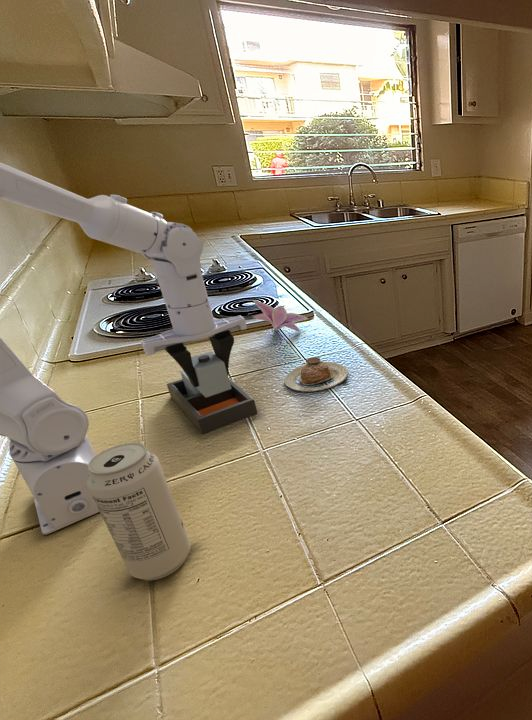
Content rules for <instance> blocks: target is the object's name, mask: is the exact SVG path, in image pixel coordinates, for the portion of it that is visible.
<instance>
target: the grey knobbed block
mask: <svg viewBox="0 0 532 720" xmlns="http://www.w3.org/2000/svg"><path fill="white" fill-rule="evenodd" d="M191 359H192V364H193V368H194V371H195V373H196V376H197V379H198V383H199V386H198V387H196V388H197V389H198V390H199V391H200V392H201V393H202V394H203V395H204V396H205V397H209V396H212V395H215V394H218V393H221V392H224V391H227V390H229V389H231V385H230V382H229V378H230V377H229V376H228V375H227V371H226V367H225V364H224V362H223V361H222V360H221V359H220V358H218V357H217V356H216V355H215V353H214V352H213V351H212V350H211V351H210V350H209V351H207V352H204V353H200V354H197V355H194V356H191ZM228 377H229V378H228Z"/></svg>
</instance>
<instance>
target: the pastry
mask: <svg viewBox="0 0 532 720" xmlns="http://www.w3.org/2000/svg"><path fill="white" fill-rule="evenodd" d="M348 375H349V370H348V368H347V367H346V366H344V365H343V364H341V363H338V362H334V361H323V360H321V358H320V357H317V356H316V357H315V356H314V357H309V358H307V359H306V360H305V364H302V365H299V366H297V367H295V368H294V369H292V370H291V371H289V372H288V373H287V374H286V376H285V377H284V380H283V382H284V384H285V386H286V387H287V388H289V389H291V390H293V391H296V392H304V393H313V392H317V391H319V392H320V391H321V392H322V391H324V390H327V389H330V388H333V387H335V386H338V385H339V384H340V385H341V384H342V383H343V382H344V381H345V380H346V379H347V377H348ZM298 377H299V378H298ZM297 379H298V380H299V382H300V383H301V384H302V385H304V386H314V385H317V384H321V383H324V382H328V381H330V380H331V379H333V380H334V381H333V382H331V383H329V384H325V385H323V386H319V387H303V386H300V385H299V384H297V381H296V380H297Z"/></svg>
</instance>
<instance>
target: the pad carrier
mask: <svg viewBox="0 0 532 720" xmlns="http://www.w3.org/2000/svg"><path fill="white" fill-rule="evenodd" d="M228 378H229V382H230V385H231V389H229V390H227V391H224V392H221V393H218V394H215V395H212V396H209V397H205V396H204V395H203V394H202V393H200V394H197V395H194V396H191V397H189V396H188V394H187V391H186V388H185V385H184V382H183V378H181V379H178V380H175V381H172V382H169V383H166V386H167V389H168V393H169V395H170V398H171V399H172V400H173V402H174V403H175V404H176V405H177V407H179V409H180V410H181V411H182V412H183V413H184V415H185V416H186V417H187V419H189V421H190V422H191V423H192V424H193V425H194V426H195V428H196V429H197V430H198V431H199V432H200V433H201V435H202V436H204V435H207V434H209V433H211V432H214V431H216V430H220V429H221V428H224V427H227V426H229V425H232V424H234V423H237V422H239V421H242V420H244V419H247V418H250V417H252V416H255V415H257V414H258V409H257V405H256V402H255V399H254V398H253V397H252V396H251V395H249V394H248V393H247V392H246V391H245V390H244V389H243V388H241V386H239V385H238V384H237V383H236V382H235V381H233V380H232V379H231V378H230V376H228Z"/></svg>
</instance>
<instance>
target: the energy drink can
mask: <svg viewBox="0 0 532 720" xmlns="http://www.w3.org/2000/svg"><path fill="white" fill-rule="evenodd" d="M88 470H89V474H88V478H87V486H88V488H89V491H90V493H91V495H92V497H93V499H94V501H95V503H96V505H97V507H98V509H99V511H100V512H99V513H100V515H101V517H102V519H103V521H104V524H105V526H106V527H107V530H108V531H109V534H110V536H111V538H112V540H113V542H114V544H115V546H116V549H117V550H118V553H119V554H120V556H121V559H122V560H123V562H124V565H125V566H126V568H127V571H128V573H129V574H130V576H131V577H133V578H135V579H140V580H143V581H148V582H149V581H156V580H160V579H163V578H165V577H168V576H170V575H171V574H173V573H175V572H176V571H177V570H178V569H180V568H181V567H182V566H183V564H184V563H185V562H186V560H187V557H188V555H189V554H190V552H191V551H190V550H191V541H190V538H189V536H188V533H187V531H186V528H185V526H184V525H185V524H184V523H183V519H182V518H181V515H180V512H179V509H178V507H177V504H176V502H175V499H174V497H173V494H172V491H171V489H170V486H169V484H168V481H167V478H166V476H165V473H164V471H163V468H162V465H161V463H160V460H159V458H158V457H157V455H155V454H154V453H152V452H151V451H149V450H147V447H146V446H145V445H144V444H142V443H140V442H127V443H122V444H118V445H115V446H111V447H109V448H107V449H105V450H103V451H101V452H99V453H97V454H96V456H95V457H94V458H93V459H91V461H90V462H89V464H88Z"/></svg>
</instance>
